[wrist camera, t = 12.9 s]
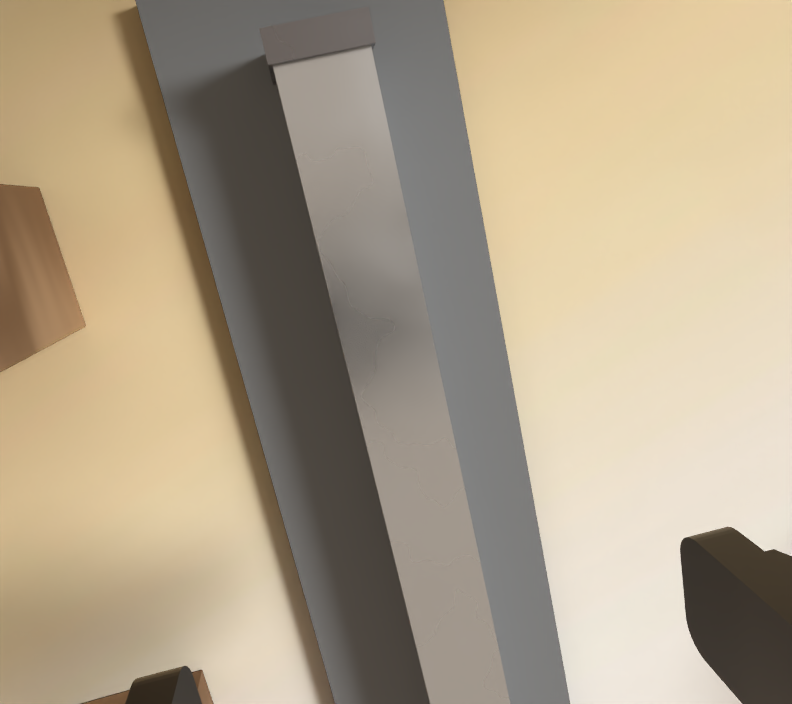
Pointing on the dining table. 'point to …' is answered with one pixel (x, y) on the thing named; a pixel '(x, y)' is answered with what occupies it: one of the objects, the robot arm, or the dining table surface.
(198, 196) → the mat
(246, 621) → the dining table surface
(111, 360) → the dining table surface
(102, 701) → the post
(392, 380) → the rail
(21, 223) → the post
